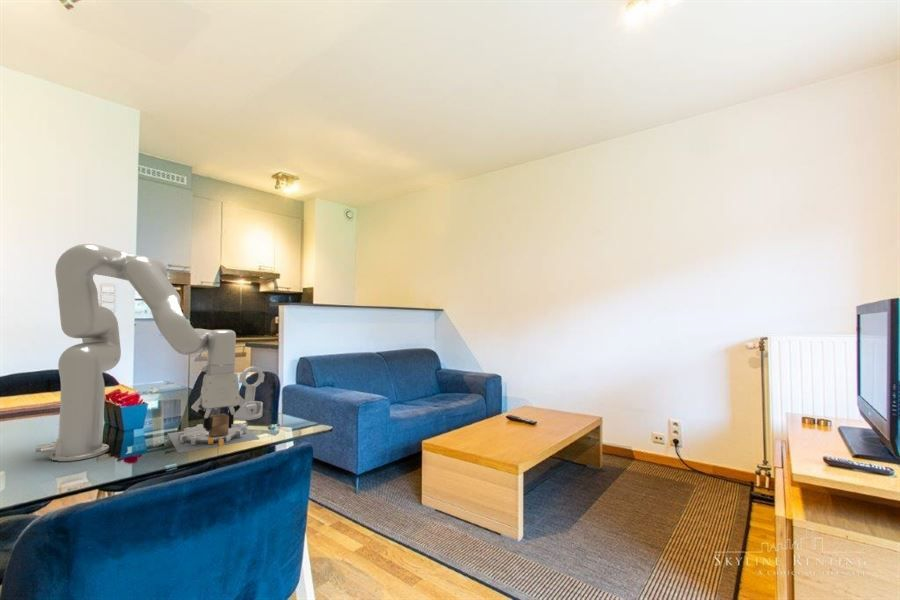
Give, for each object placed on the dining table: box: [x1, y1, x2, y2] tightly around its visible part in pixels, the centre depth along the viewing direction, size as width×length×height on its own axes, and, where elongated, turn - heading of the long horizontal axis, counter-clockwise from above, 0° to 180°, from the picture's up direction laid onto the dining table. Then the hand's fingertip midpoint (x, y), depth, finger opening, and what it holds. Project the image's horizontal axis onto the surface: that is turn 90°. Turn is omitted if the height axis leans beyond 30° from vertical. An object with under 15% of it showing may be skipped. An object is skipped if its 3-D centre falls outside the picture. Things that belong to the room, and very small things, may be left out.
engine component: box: [233, 365, 265, 421], centre depth 159 cm, size 11×20×10 cm
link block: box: [209, 413, 229, 437], centre depth 129 cm, size 4×4×6 cm
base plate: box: [166, 422, 260, 454], centre depth 134 cm, size 22×23×3 cm
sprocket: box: [178, 408, 247, 445], centre depth 134 cm, size 19×19×8 cm
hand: (218, 428), depth 128 cm, fingers open, 5 cm apart
